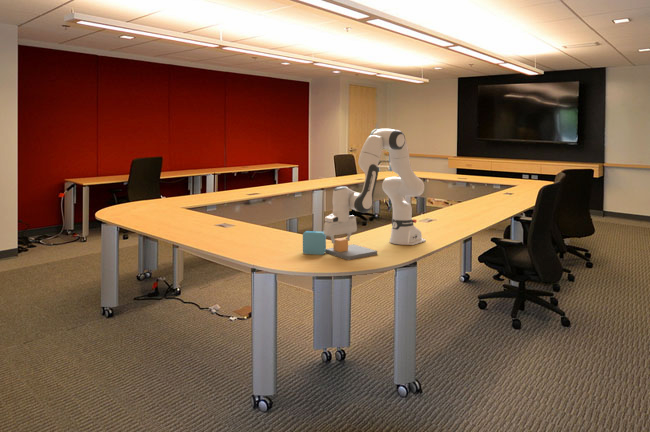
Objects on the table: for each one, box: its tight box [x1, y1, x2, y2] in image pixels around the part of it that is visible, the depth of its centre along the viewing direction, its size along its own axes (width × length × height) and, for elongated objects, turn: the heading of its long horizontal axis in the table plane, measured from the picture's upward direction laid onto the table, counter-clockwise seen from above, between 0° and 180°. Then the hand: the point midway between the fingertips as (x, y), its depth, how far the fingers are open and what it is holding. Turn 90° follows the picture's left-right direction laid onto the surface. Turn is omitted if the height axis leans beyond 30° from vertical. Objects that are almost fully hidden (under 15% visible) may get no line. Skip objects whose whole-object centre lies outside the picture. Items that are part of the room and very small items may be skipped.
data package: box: [302, 230, 327, 256], centre depth 278 cm, size 12×4×12 cm, turn 80°
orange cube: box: [332, 237, 349, 252], centre depth 278 cm, size 6×6×6 cm
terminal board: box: [324, 244, 378, 261], centre depth 279 cm, size 20×20×6 cm
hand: (340, 242), depth 278 cm, fingers open, 8 cm apart
